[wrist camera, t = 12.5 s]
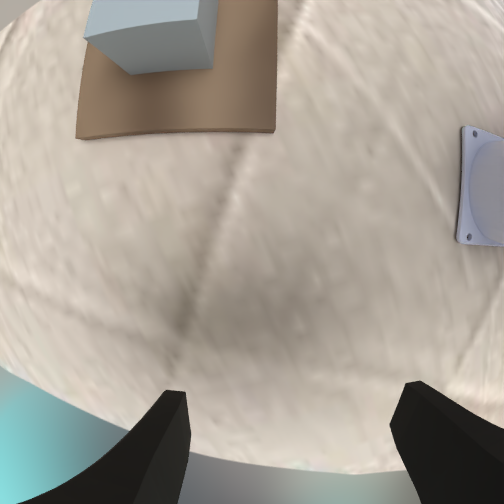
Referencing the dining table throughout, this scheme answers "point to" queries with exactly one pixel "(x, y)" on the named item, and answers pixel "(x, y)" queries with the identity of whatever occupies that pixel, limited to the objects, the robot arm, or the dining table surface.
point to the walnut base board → (190, 84)
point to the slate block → (154, 33)
